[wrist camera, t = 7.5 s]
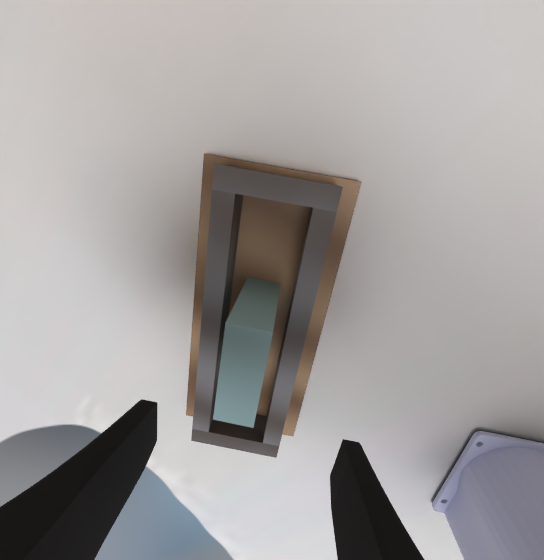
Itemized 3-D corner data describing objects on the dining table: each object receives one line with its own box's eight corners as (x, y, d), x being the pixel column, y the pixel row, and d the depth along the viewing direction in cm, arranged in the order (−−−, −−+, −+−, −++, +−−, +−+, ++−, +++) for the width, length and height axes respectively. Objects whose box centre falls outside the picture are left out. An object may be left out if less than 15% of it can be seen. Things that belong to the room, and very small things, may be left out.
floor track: (293, 430, 24) (292, 464, 21) (188, 409, 24) (174, 440, 21) (359, 181, 16) (371, 183, 13) (207, 154, 16) (188, 150, 14)
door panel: (265, 358, 20) (253, 427, 15) (236, 352, 20) (212, 419, 15) (280, 283, 18) (273, 332, 13) (247, 277, 18) (225, 322, 13)
